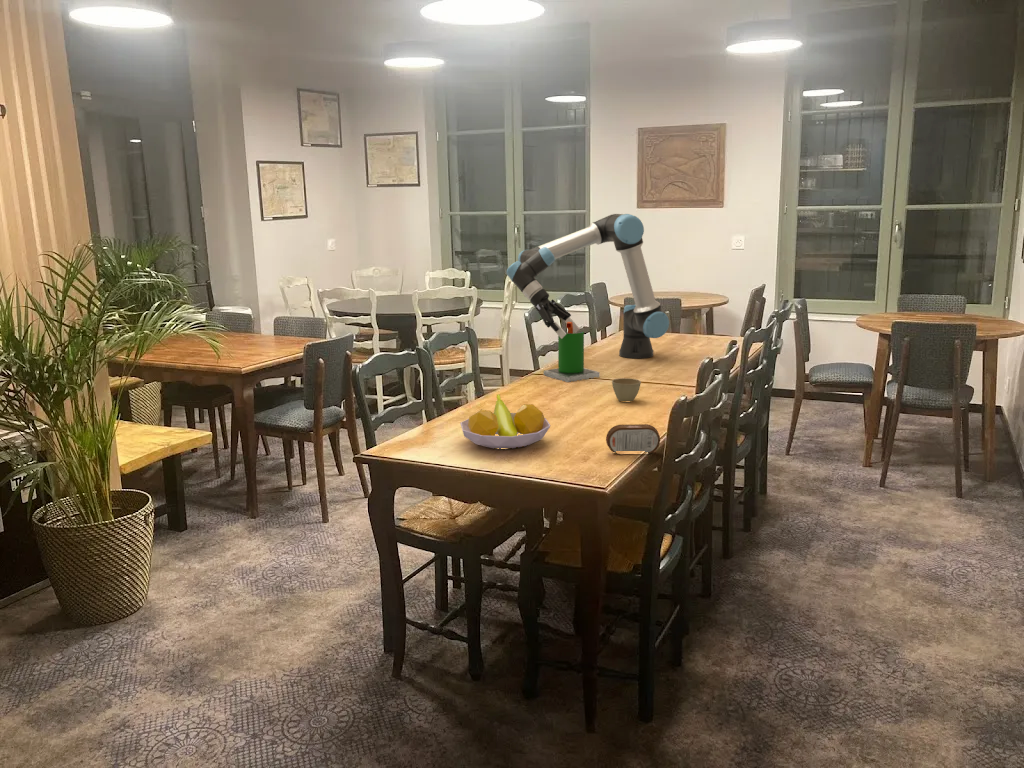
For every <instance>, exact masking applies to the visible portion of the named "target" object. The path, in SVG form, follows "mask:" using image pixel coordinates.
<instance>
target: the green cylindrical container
mask: <svg viewBox="0 0 1024 768" xmlns="http://www.w3.org/2000/svg"><path fill="white" fill-rule="evenodd" d="M566 329H567V333H566V332H565V333H566V335H565V336H564V337H563V338H562V339H561V338H560V337H559V336H558V335H557V341H558V342H557V346H558V347H557V352H558V353H557V355H558V356H557V357H558V359H557V360H558V361H557V362H558V364H557V365H558V371H560V372H564V373H578V372H583V371H584V368H585V361H584V360H585V331H580V332H576V333H574V332H573V323H572V322H567V324H566Z"/></svg>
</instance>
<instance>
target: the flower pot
mask: <svg viewBox="0 0 1024 768" xmlns="http://www.w3.org/2000/svg"><path fill="white" fill-rule="evenodd" d="M641 383H642V381H641V380H639V379H636V378H630V377H629V378H626V377H625V378H623V377H622V378H621V377H619V378H615V379H613V380H611V385H612V389H613V392H614V395H615V397H616V398H617V400H618V401H619V402H620V401H633V402H634V400H635V399H636V397H637V395H638V393H639V391H640V388H641Z"/></svg>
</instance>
